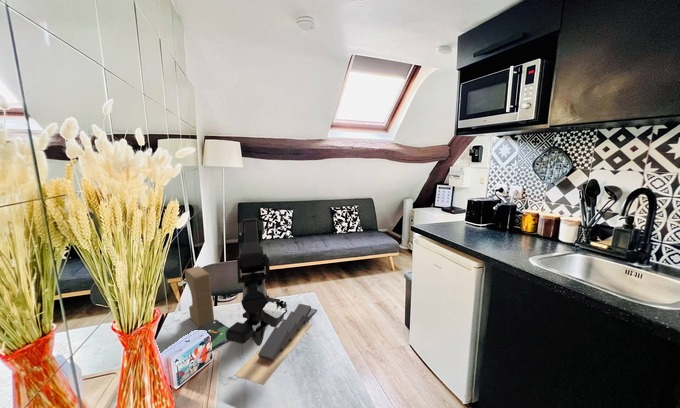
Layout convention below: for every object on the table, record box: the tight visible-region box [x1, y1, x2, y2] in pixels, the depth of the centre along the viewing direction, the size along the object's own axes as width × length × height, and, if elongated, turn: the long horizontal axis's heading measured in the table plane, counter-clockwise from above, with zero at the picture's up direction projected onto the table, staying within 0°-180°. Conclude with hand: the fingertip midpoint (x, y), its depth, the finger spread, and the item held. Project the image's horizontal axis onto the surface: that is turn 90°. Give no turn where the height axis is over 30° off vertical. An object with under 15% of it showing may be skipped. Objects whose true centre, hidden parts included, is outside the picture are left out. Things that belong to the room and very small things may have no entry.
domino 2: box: [293, 303, 312, 331], centre depth 102 cm, size 2×5×10 cm
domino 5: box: [303, 307, 318, 324], centre depth 107 cm, size 2×5×10 cm
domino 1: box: [258, 326, 289, 361], centre depth 88 cm, size 2×5×10 cm
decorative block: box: [184, 265, 215, 329], centre depth 107 cm, size 11×6×20 cm, turn 43°
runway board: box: [234, 322, 313, 386], centre depth 90 cm, size 10×29×1 cm, turn 158°
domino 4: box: [277, 318, 297, 351], centre depth 93 cm, size 2×5×10 cm
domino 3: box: [285, 311, 304, 341], centre depth 97 cm, size 2×5×10 cm
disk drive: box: [188, 319, 230, 351], centre depth 97 cm, size 10×3×15 cm
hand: (259, 345), depth 81 cm, fingers closed
